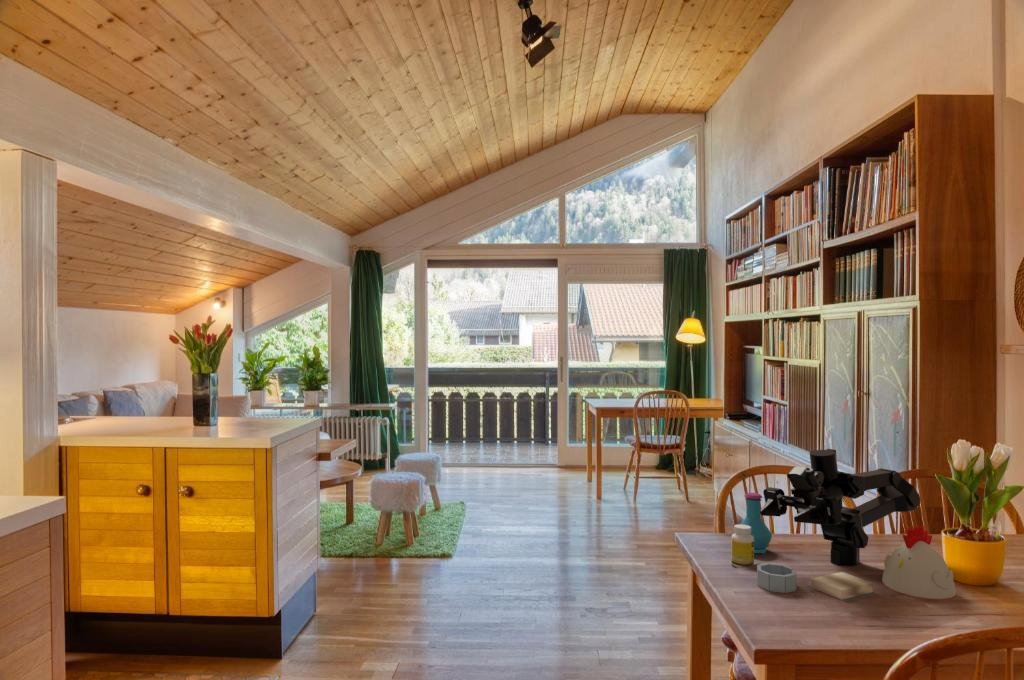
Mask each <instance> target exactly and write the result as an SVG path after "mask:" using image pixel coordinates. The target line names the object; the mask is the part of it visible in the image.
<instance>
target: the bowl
mask: <svg viewBox="0 0 1024 680" xmlns="http://www.w3.org/2000/svg"><path fill="white" fill-rule="evenodd" d="M756 583H757V587H758V588H762V589H764V590H766V591H769V592H773V593H775V592H776V593H782V594H787V593H793V592H796V591H797V571H796V569H795V568H793V567H790V566H788V565H786V564H780V563H774V562H773V563H771V562H766V563H760V564H757V565H756Z"/></svg>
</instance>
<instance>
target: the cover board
mask: <svg viewBox="0 0 1024 680" xmlns="http://www.w3.org/2000/svg"><path fill="white" fill-rule="evenodd" d="M810 581H811V584H810V585H811V587H810V588H811V589H813V588H814V589H813V590H816V591H818V590H819V592H821V593H823V592H824V593H823V594H826V595H828V594H829V595H828V596H830V595H831V597H833V598H835V597H836V599H838V600H840V599H841V600H840V601H843V599H847V598H851V597H855V596H859V595H863V594H867V593H871V592H874V582H871V581H868V580H866V579H863V578H861V577H857V576H856V575H852V574H849V573H847V572H844V571H840V572H835V573H831V574H825V575H821V576H816V577H812V578H811V580H810Z"/></svg>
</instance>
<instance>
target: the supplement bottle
mask: <svg viewBox="0 0 1024 680" xmlns="http://www.w3.org/2000/svg"><path fill="white" fill-rule="evenodd" d="M733 530H734V533H732V534H731V538H730V539H731V540H730V541H731V542H730V543H731V544H730V545H731V546H730V551H731V552H730V555H731V556H730V557H731V558H730V563H731V565H732V566H733V567H734V568H735V567H736V568H738V569H740V568H745V567H750V566H754V565H755V554H754V538H753V536H751V535H750V534H751V527H750V526H748V525H742V524H741V523H740V524H734V528H733Z"/></svg>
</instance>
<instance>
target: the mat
mask: <svg viewBox="0 0 1024 680" xmlns="http://www.w3.org/2000/svg"><path fill="white" fill-rule="evenodd" d="M806 587H809V588H811V584H808V585H806ZM812 589H813V590H815V589H814V588H812ZM817 591H819V590H817ZM819 592H820V591H819ZM822 593H823V594H825V593H824V592H822ZM827 595H828V596H831V595H829V594H827ZM874 596H879V593H876V592H874V591H873V592H871V593H867V594H863V595H859V596H855V597H851V598H847V599H843V600H841V599H839V600H840V601H843V602H845V603H850V602H853V601H857V600H861V599H865V598H870V597H874ZM831 597H832V596H831ZM834 598H836V597H834ZM836 599H837V598H836Z"/></svg>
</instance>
